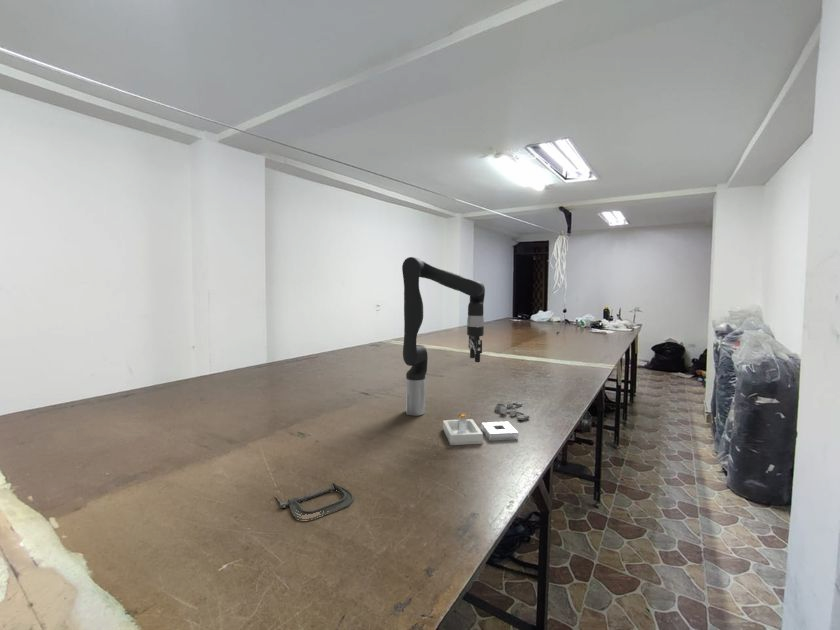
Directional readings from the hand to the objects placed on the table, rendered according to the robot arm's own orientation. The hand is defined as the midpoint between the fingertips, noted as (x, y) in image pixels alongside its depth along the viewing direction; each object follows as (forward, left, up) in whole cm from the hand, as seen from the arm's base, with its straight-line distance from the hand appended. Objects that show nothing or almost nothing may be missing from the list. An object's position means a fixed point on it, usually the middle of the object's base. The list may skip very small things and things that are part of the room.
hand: (474, 360), depth 174 cm
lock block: (+6, -18, -28) cm, 34 cm away
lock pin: (-10, -18, -27) cm, 34 cm away
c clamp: (-64, -58, -29) cm, 91 cm away
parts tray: (-10, -18, -28) cm, 35 cm away
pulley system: (+21, +9, -29) cm, 37 cm away
